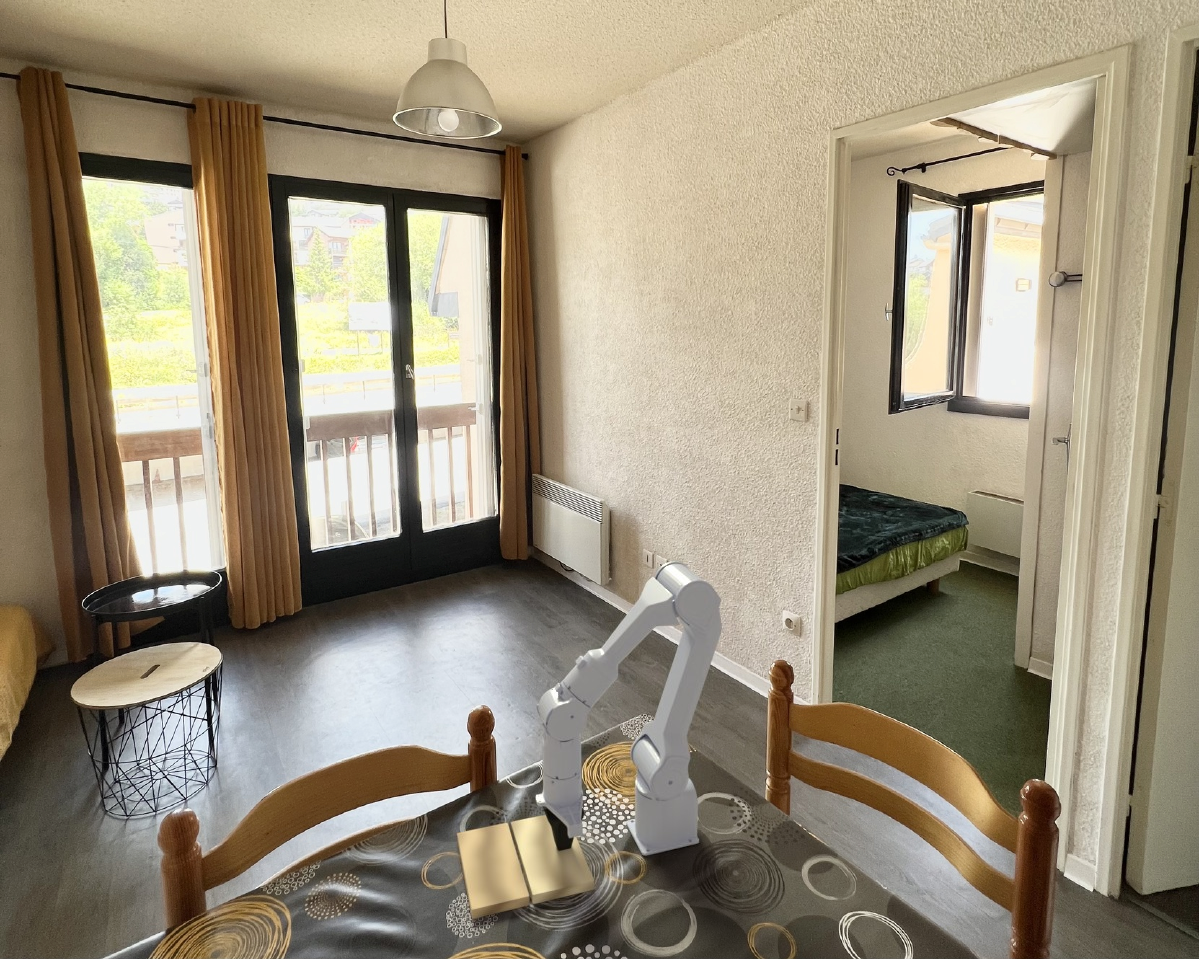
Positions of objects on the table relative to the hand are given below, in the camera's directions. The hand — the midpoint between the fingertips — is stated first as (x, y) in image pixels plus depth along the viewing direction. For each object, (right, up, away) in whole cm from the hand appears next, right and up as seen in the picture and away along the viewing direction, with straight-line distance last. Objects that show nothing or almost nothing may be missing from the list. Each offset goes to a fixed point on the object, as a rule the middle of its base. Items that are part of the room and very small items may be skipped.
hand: (563, 847), depth 114 cm
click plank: (-2, -1, 0) cm, 3 cm away
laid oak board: (-11, -2, -3) cm, 11 cm away
